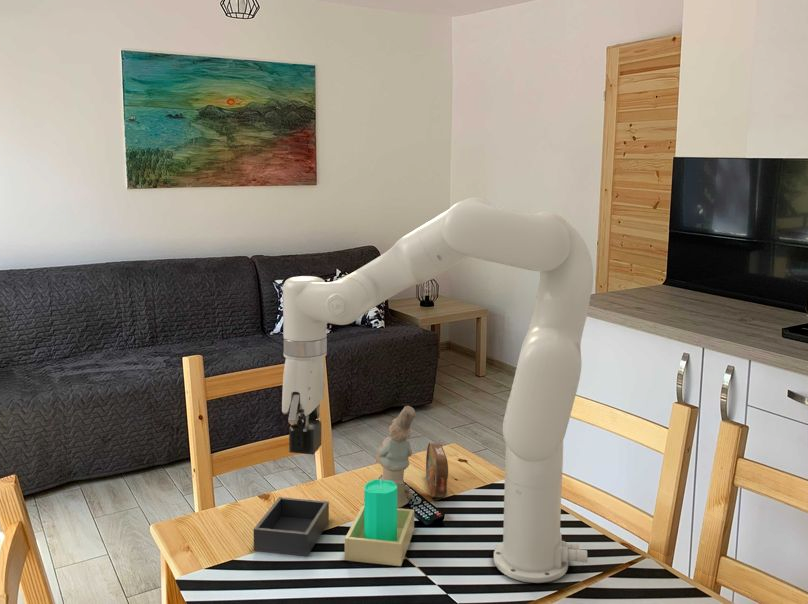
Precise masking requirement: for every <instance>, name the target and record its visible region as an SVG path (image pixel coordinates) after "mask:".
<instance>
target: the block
mask: <svg viewBox="0 0 808 604" xmlns="http://www.w3.org/2000/svg"><path fill="white" fill-rule="evenodd" d="M301 420H302V419H301ZM303 421H304V420H302V422H303ZM308 430H310V451H309V453H300V454H301V455H303V454H304V455H315V453H316V452H317V451H318V450H319V449H320V448H321V446H322V421H321V420H319V421H311V420H308ZM288 433H289V434H288V445H289V446H288V449H289V450H288V452H289V453H291V454H299V453H298V452H292V448H291V426H290V427H289V429H288Z"/></svg>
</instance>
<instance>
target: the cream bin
mask: <svg viewBox="0 0 808 604" xmlns="http://www.w3.org/2000/svg"><path fill="white" fill-rule="evenodd" d="M414 532H415V509H414V508H413V509H412V508H402V507H399V508H397V542H395V541H385V540H375V539H365V538H364V504H362V505H361V507H360V508H359V511H358V513H357V515H356V516H355V518H354V520H353V522H352V524H351V525H350V527H349V530H348V531H347V533H346V535H345V537H344V561H347V562H357V563H365V564H366V563H367V564H375V565H384V566H385V565H386V566H394V567H395V566H396V567H402V565H403V563H404V560H405V556H406V554H407V551H408V548H409V545H410V543H411V540H412V537H413V534H414Z"/></svg>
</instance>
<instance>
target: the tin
mask: <svg viewBox="0 0 808 604" xmlns="http://www.w3.org/2000/svg"><path fill="white" fill-rule="evenodd" d="M448 462H449V461H448V458H447V455H446V453H445V450H444V448H443V445H442V444H441V443H432V442H429V443H428V444H427V448H426V457H425V477H426V483H427V485H428V489H429V493H430V495H431V498H445V497H446V496H447V492H448V490H447V489H448V479H449V463H448Z"/></svg>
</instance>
